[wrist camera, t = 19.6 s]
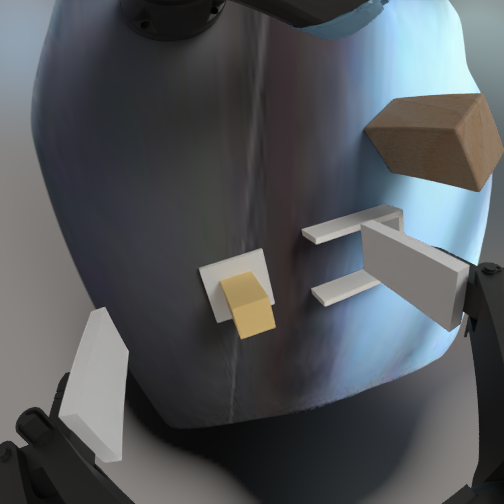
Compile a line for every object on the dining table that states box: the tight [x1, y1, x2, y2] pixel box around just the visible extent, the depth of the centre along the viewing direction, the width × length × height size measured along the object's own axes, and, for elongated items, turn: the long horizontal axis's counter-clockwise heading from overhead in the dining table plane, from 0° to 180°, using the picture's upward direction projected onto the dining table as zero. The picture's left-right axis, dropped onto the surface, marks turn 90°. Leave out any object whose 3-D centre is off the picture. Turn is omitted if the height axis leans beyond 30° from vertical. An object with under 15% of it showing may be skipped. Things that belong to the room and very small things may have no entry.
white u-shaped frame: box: [301, 204, 404, 307], centre depth 50 cm, size 12×17×5 cm
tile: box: [199, 248, 275, 323], centre depth 48 cm, size 10×10×1 cm
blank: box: [220, 271, 276, 339], centre depth 44 cm, size 5×5×9 cm
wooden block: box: [364, 93, 504, 192], centre depth 38 cm, size 10×10×20 cm
